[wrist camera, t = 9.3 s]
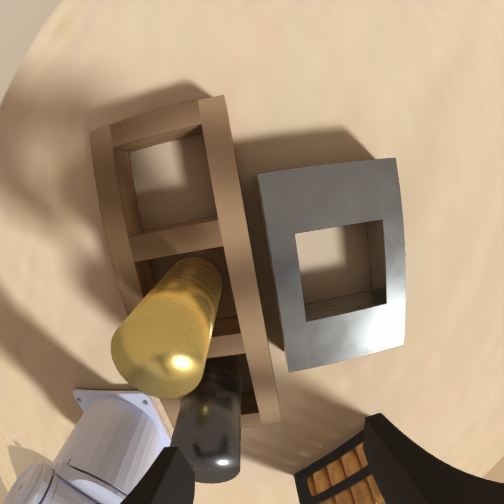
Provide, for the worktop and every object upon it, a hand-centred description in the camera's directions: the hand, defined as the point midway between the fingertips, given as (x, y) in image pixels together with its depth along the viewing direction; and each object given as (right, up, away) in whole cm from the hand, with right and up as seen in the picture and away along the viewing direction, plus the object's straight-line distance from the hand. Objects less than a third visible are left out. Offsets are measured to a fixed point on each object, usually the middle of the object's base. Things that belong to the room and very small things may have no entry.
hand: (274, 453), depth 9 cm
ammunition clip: (+8, -12, +14) cm, 20 cm away
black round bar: (-3, -1, +11) cm, 11 cm away
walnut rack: (-5, +6, +9) cm, 12 cm away
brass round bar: (-5, +6, +9) cm, 12 cm away
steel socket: (+4, +7, +9) cm, 12 cm away
